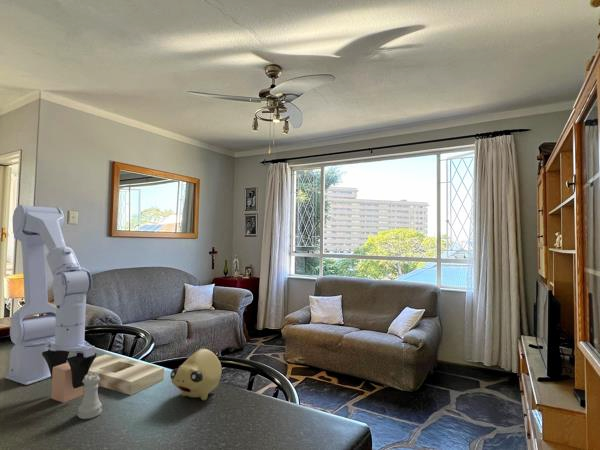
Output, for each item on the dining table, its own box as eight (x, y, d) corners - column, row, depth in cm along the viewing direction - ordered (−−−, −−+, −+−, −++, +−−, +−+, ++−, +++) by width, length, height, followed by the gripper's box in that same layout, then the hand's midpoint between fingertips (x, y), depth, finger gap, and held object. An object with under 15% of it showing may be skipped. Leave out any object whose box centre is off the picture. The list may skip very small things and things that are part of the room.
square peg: (51, 398, 80) (52, 367, 80) (70, 391, 84) (72, 361, 84) (63, 402, 78) (65, 370, 78) (83, 394, 82) (84, 364, 82)
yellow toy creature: (160, 405, 78) (162, 356, 78) (192, 384, 89) (194, 341, 90) (199, 413, 75) (201, 362, 75) (227, 390, 86) (229, 345, 87)
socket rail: (70, 377, 91) (70, 365, 92) (105, 365, 101) (105, 354, 101) (130, 395, 82) (131, 382, 82) (163, 379, 91) (164, 367, 92)
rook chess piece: (90, 421, 71) (92, 380, 71) (71, 418, 72) (73, 378, 72) (107, 410, 75) (108, 372, 75) (89, 408, 76) (90, 370, 76)
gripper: (32, 323, 81) (29, 383, 80) (73, 331, 75) (70, 397, 74) (64, 317, 87) (61, 373, 87) (104, 324, 81) (101, 384, 81)
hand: (68, 383), depth 81 cm, fingers open, 7 cm apart
